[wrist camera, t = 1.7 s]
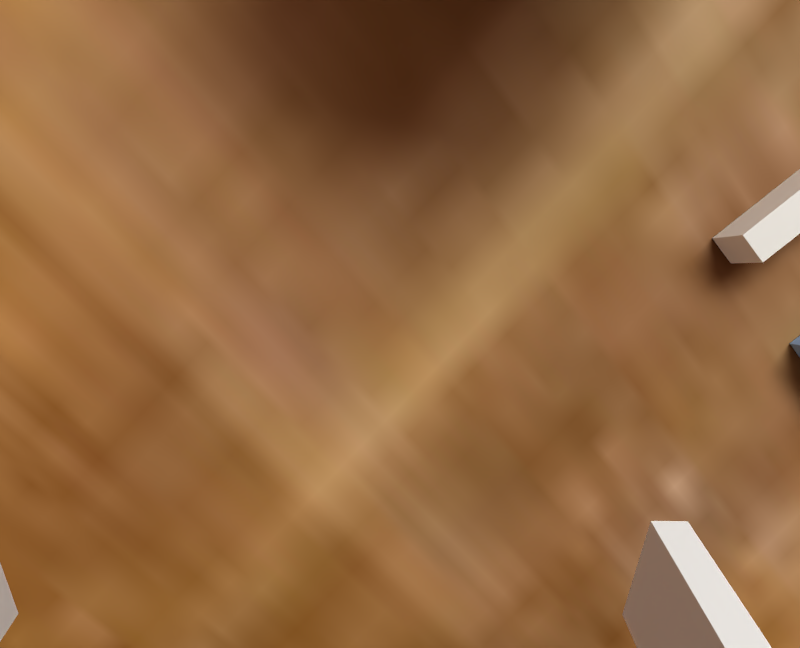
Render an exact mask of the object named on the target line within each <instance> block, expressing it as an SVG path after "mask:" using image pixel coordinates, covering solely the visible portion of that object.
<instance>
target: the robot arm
mask: <svg viewBox="0 0 800 648" xmlns="http://www.w3.org/2000/svg"><path fill="white" fill-rule="evenodd" d="M17 615H18V611H17V608H16V606H15V603H14V600H13V597H12V594H11V592H10V589H9V586H8V583H7V581H6V578H5V575H4V572H3V569H2V567H1V564H0V641H1V639H2V638H3V636H4V635H5V633H6V632H7V630H8V629H9V627H10V626H11V624H12V622H13V621H14V619H15V618H16V616H17ZM623 617H624V619H625V621H626V624H627V626H628V628H629V630H630V633H631V635H632V637H633V640H634V642H635V644H636V647H637V648H771V646H770V644H769V643H768V641H767V640H766V638H765V637H764V635H763V634H762V632H761V631H760V629H759V628H758V626H757V625H756V623H755V622H754V620H753V619H752V617H751V616H750V614H749V613H748V611H747V610H746V608H745V607H744V605H743V604H742V602H741V601H740V599H739V598H738V596H737V595H736V593H735V592H734V590H733V589H732V587H731V586H730V584H729V583H728V581H727V580H726V578H725V577H724V575H723V574H722V572H721V571H720V569H719V568H718V566H717V565H716V563H715V562H714V560H713V559H712V557H711V556H710V554H709V553H708V551H707V550H706V548H705V547H704V545H703V544H702V542H701V541H700V539H699V538H698V536H697V535H696V533H695V532H694V530H693V529H692V527H691V526H690V524H689V523H688V521H651V522H650V525H649V529H648V532H647V535H646V539H645V542H644V545H643V548H642V552H641V555H640V558H639V562H638V565H637V568H636V571H635V575H634V578H633V581H632V585H631V588H630V591H629V594H628V598H627V601H626V604H625V608H624V611H623Z"/></svg>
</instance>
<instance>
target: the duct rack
mask: <svg viewBox="0 0 800 648" xmlns="http://www.w3.org/2000/svg"><path fill="white" fill-rule="evenodd" d="M798 234H800V169H799V170H798V171H796V172H795V173H794V174H793V175H791V176H790V177H789V178H788V179H786V180H785V181H784V182H783V183H781V184H780V185H779V186H778V187H776V188H775V189H774V190H772V191H771V192H770V193H769V194H767V195H766V196H765V197H764V198H762V199H761V200H760V201H759V202H757V203H756V204H755V205H754V206H752V207H751V208H750V209H749V210H747V211H746V212H745V213H743V214H742V215H741V216H740V217H738V218H737V219H736V220H735V221H733V222H732V223H731V224H730V225H728V226H727V227H726V228H725V229H723V230H722V231H721V232H720V233H718V234H717V235H716V236H714V237H713V238H712V239H713V240H714V241H715V243H716V244H717V246H718V247H719V248H720V250H721V251H722V252H723V254H724V255H725V256H726V258H727V259H728V260H729V262H730V263H763V262H764V261H765V260H767V259H768V258H769V257H770V256H772V255H773V254H774V253H776V252H777V251H778V250H779V249H781V248H782V247H783V246H784V245H786V244H787V243H788V242H790V241H791V240H792V239H793V238H795V237H796V236H797V235H798ZM790 345H791V346H792V347H793V349H794V350H795V352H796V353H797V354H798V356H799V357H800V336H799V337H797V338H796V339H795V340H793V341H792V342H791V343H790Z"/></svg>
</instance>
